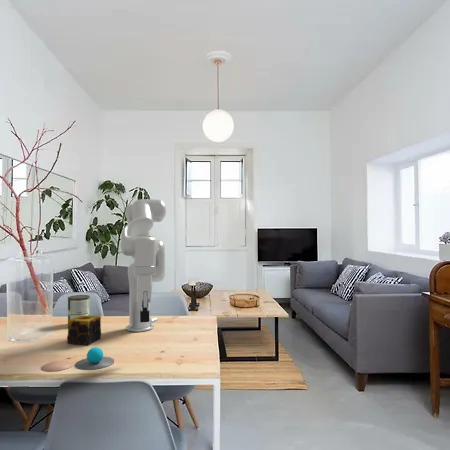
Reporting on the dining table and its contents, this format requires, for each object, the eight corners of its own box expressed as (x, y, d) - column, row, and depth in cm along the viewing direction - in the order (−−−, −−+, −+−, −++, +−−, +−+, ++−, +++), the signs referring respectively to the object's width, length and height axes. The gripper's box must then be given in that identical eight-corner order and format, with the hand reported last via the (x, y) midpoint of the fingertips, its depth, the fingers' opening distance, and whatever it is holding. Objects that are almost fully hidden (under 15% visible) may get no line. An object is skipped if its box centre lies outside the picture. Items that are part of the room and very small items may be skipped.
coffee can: (62, 325, 184) (63, 297, 185) (80, 321, 193) (80, 294, 194) (76, 328, 179) (76, 298, 179) (93, 323, 188) (94, 295, 188)
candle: (88, 345, 151) (88, 321, 151) (66, 344, 153) (66, 320, 153) (101, 339, 161) (101, 315, 161) (80, 337, 163) (80, 314, 163)
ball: (103, 352, 134) (90, 345, 133) (108, 351, 130) (95, 343, 129) (95, 367, 131) (81, 359, 129) (99, 365, 127) (86, 357, 125)
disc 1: (65, 359, 134) (65, 358, 134) (79, 365, 127) (79, 364, 127) (36, 366, 126) (36, 366, 126) (49, 373, 120) (49, 373, 120)
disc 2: (101, 354, 139) (101, 354, 139) (121, 362, 131) (121, 361, 131) (67, 363, 129) (67, 363, 129) (86, 372, 121) (87, 372, 121)
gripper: (134, 269, 141) (133, 317, 141) (134, 273, 127) (134, 327, 126) (154, 268, 143) (154, 316, 143) (156, 272, 129) (156, 325, 128)
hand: (144, 321), depth 134 cm, fingers closed
